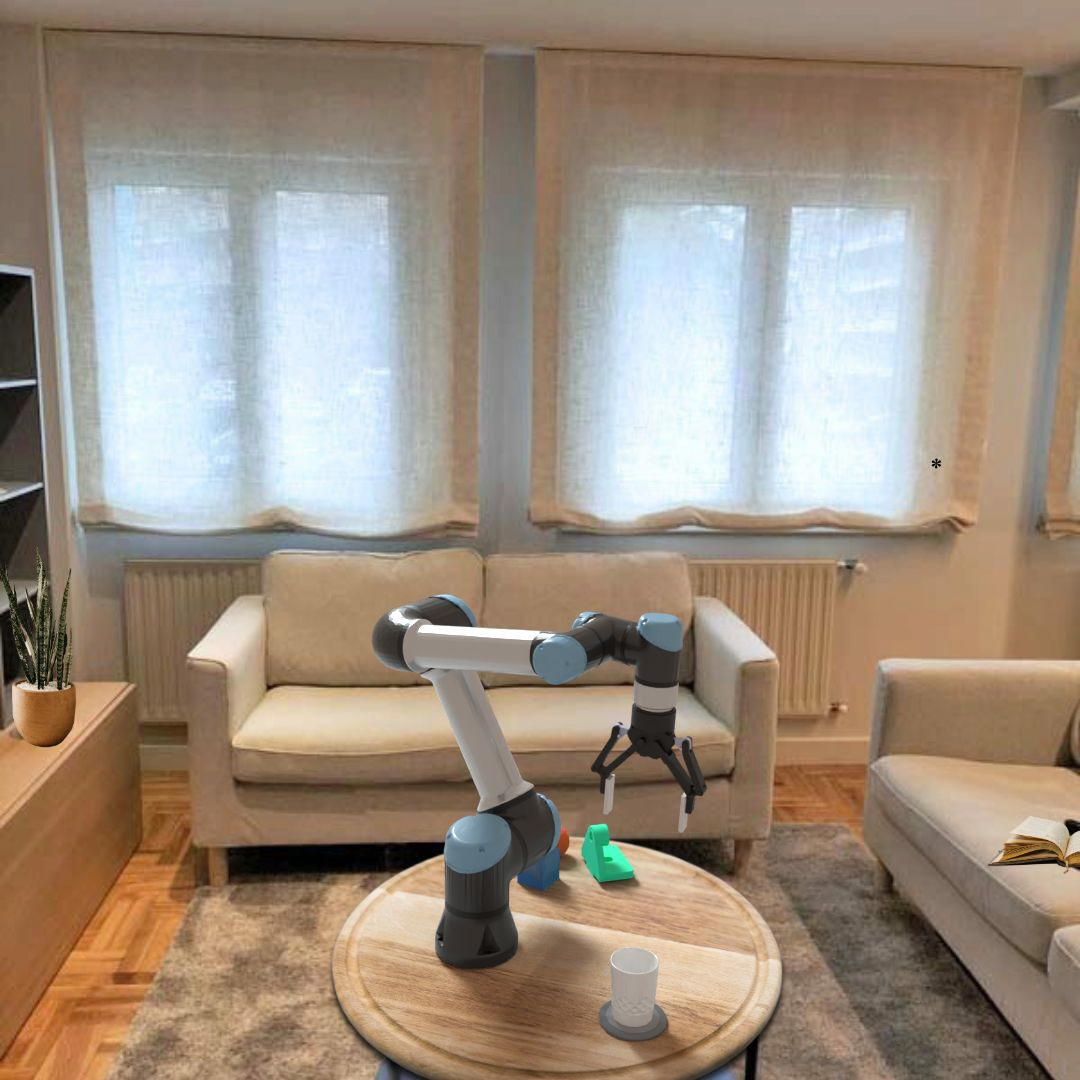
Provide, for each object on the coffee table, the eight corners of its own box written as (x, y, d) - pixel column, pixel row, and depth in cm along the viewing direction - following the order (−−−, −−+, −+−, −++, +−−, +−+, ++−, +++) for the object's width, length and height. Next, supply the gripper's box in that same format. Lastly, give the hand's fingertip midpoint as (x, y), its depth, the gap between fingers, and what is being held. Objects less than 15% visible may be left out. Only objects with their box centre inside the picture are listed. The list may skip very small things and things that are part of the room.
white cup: (626, 995, 192) (628, 941, 190) (665, 1013, 187) (668, 958, 185) (598, 1016, 186) (600, 961, 184) (638, 1036, 181) (641, 980, 179)
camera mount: (634, 882, 231) (636, 835, 229) (599, 887, 229) (600, 839, 227) (615, 855, 242) (616, 810, 240) (581, 859, 240) (582, 814, 238)
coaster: (589, 1029, 184) (589, 1025, 184) (613, 993, 193) (613, 989, 193) (653, 1048, 179) (653, 1044, 179) (675, 1010, 189) (675, 1006, 189)
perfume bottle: (559, 878, 232) (560, 824, 229) (543, 891, 227) (544, 835, 224) (533, 870, 235) (534, 816, 233) (517, 882, 230) (518, 827, 227)
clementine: (526, 855, 242) (526, 823, 240) (547, 844, 247) (548, 813, 245) (554, 867, 236) (555, 835, 235) (576, 856, 241) (576, 824, 240)
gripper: (731, 712, 192) (720, 828, 196) (593, 684, 201) (585, 796, 205) (720, 726, 185) (708, 846, 189) (578, 697, 194) (569, 812, 199)
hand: (644, 820), depth 197 cm, fingers open, 13 cm apart
